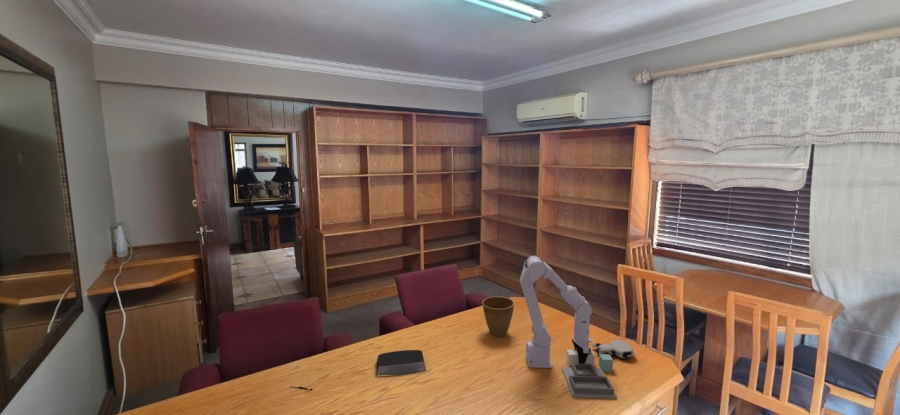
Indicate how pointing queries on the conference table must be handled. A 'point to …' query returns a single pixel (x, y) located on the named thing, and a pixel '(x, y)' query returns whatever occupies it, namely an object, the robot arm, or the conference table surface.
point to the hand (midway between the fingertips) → (580, 360)
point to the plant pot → (498, 314)
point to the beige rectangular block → (573, 357)
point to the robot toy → (615, 348)
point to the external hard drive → (400, 362)
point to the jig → (588, 382)
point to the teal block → (605, 363)
